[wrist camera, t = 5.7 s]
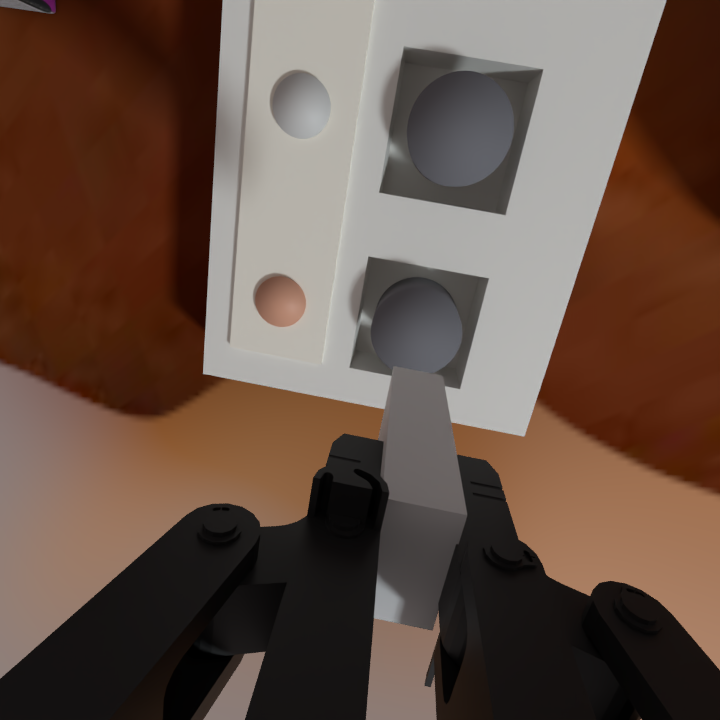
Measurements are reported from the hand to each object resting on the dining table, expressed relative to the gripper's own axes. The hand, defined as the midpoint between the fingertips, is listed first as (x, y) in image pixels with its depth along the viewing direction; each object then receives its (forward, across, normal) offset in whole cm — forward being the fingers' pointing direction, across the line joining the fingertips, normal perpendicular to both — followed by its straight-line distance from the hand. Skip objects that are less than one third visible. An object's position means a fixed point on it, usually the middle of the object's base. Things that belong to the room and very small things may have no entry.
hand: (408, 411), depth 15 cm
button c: (+12, 0, 0) cm, 12 cm away
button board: (+15, -2, +9) cm, 17 cm away
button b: (+12, 0, +9) cm, 15 cm away
